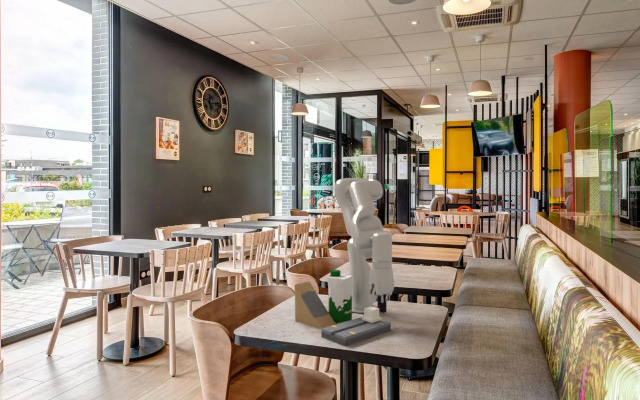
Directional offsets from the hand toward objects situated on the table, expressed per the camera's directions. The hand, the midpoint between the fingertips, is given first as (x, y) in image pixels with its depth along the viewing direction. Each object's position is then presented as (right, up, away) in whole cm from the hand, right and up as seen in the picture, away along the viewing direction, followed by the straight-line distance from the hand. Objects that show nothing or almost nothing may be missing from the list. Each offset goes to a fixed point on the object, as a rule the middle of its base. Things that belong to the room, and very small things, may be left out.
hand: (381, 311), depth 176 cm
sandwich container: (-26, -6, +4) cm, 27 cm away
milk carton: (-16, -5, +6) cm, 18 cm away
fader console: (-10, -6, -9) cm, 15 cm away
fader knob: (-4, -3, -4) cm, 7 cm away
